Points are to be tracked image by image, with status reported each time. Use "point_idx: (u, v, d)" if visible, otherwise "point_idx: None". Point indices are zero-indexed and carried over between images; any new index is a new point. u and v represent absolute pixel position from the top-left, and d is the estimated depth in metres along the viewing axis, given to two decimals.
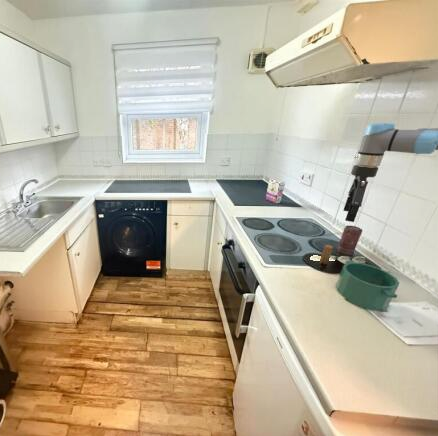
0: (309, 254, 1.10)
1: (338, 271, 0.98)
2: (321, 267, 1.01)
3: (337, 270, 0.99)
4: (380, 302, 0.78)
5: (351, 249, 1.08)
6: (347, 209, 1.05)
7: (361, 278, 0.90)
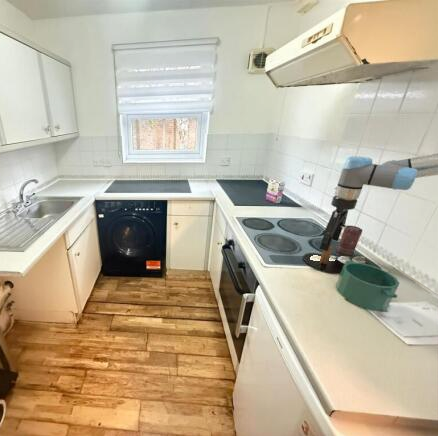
0: (309, 254, 1.10)
1: (338, 271, 0.98)
2: (321, 267, 1.01)
3: (337, 270, 0.99)
4: (380, 302, 0.78)
5: (351, 249, 1.08)
6: (334, 238, 1.05)
7: (361, 278, 0.90)
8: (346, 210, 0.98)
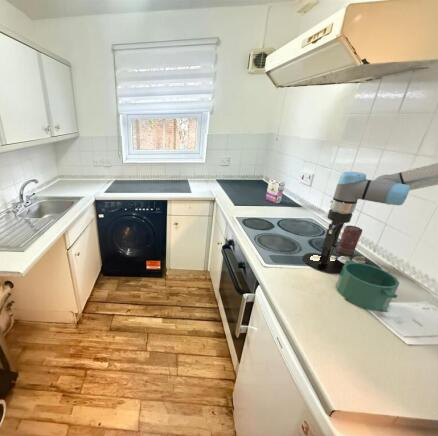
0: (309, 254, 1.10)
1: (338, 271, 0.98)
2: (321, 267, 1.01)
3: (337, 270, 0.99)
4: (380, 302, 0.78)
5: (351, 249, 1.08)
6: None
7: (361, 278, 0.90)
8: None
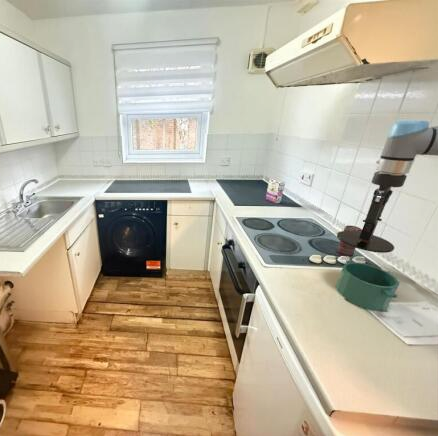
0: (344, 232, 0.91)
1: (385, 249, 0.79)
2: (363, 245, 0.81)
3: (384, 248, 0.79)
4: (380, 302, 0.78)
5: (351, 249, 1.08)
6: None
7: (361, 278, 0.90)
8: None
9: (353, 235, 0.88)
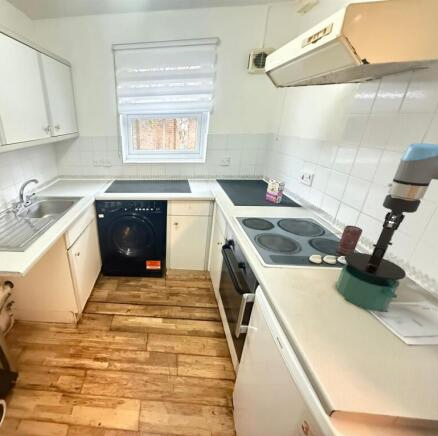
0: (352, 254, 0.87)
1: (397, 276, 0.75)
2: (373, 271, 0.78)
3: (395, 275, 0.76)
4: (380, 302, 0.78)
5: (351, 249, 1.08)
6: None
7: (361, 278, 0.90)
8: None
9: (362, 258, 0.85)
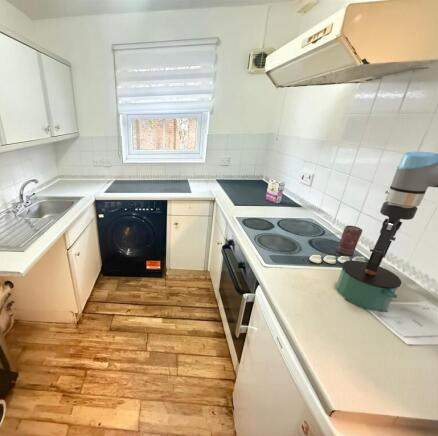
0: (349, 262, 0.89)
1: (393, 285, 0.76)
2: (369, 279, 0.79)
3: (391, 284, 0.77)
4: (380, 302, 0.78)
5: (351, 249, 1.08)
6: None
7: None
8: (398, 220, 0.78)
9: (358, 266, 0.86)
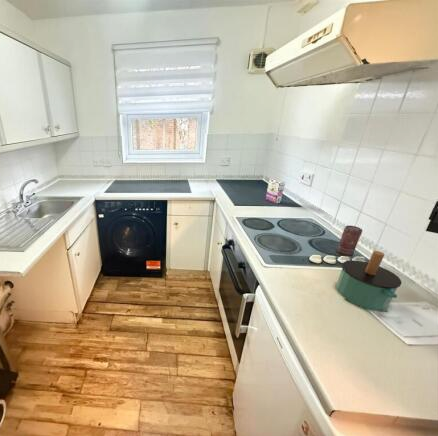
0: (349, 262, 0.89)
1: (393, 285, 0.76)
2: (369, 279, 0.79)
3: (391, 284, 0.77)
4: (380, 302, 0.78)
5: (351, 249, 1.08)
6: None
7: None
8: None
9: (358, 266, 0.86)
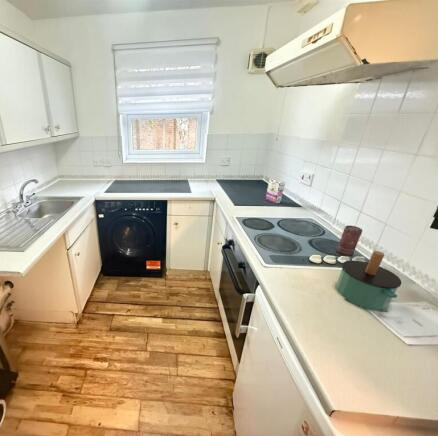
0: (349, 262, 0.89)
1: (393, 285, 0.76)
2: (369, 279, 0.79)
3: (391, 284, 0.77)
4: (380, 302, 0.78)
5: (351, 249, 1.08)
6: None
7: None
8: None
9: (358, 266, 0.86)
